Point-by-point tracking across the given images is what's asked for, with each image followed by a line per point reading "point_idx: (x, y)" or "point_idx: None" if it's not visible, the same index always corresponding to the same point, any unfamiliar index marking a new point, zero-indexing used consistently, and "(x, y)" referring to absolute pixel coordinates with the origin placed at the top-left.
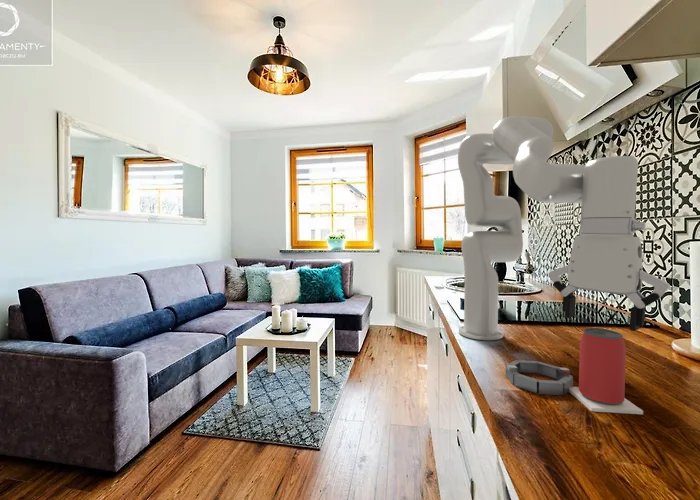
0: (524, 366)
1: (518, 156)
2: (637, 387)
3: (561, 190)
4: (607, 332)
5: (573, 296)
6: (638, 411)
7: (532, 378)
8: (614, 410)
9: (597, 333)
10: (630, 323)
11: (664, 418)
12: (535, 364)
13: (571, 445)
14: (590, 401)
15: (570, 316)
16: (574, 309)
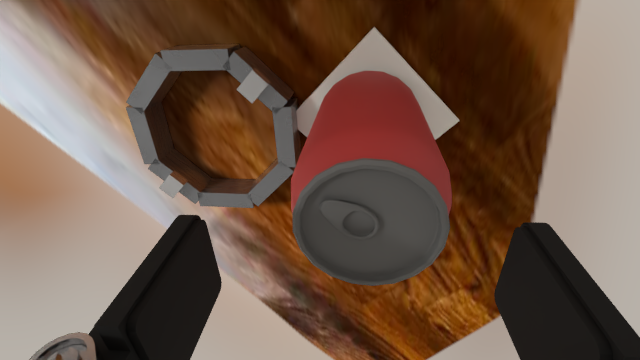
0: (157, 98)
1: None
2: None
3: None
4: (378, 183)
5: (130, 341)
6: (449, 127)
7: (235, 195)
8: None
9: (350, 233)
10: (509, 325)
11: (500, 97)
12: (169, 75)
13: (377, 306)
14: None
15: (217, 274)
16: (190, 252)
